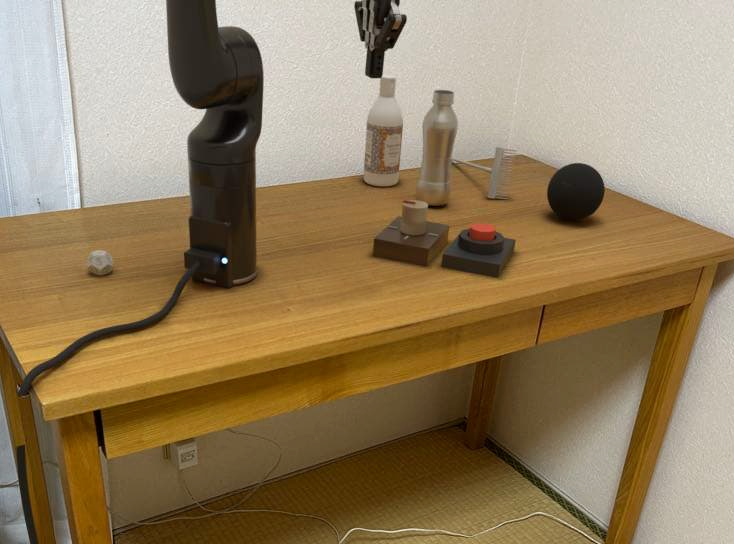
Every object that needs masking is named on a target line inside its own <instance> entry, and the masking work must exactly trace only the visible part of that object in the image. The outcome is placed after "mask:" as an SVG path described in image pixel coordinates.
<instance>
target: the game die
mask: <svg viewBox="0 0 734 544" xmlns="http://www.w3.org/2000/svg"><path fill="white" fill-rule="evenodd" d="M113 259H114V258H113V257H112V256H111V254H109V252H108V251H107V250H106V251H105V250H101V249H97V250H94V251H91V252H90V254H89V255H88V257H87V259H86V264H87V268H88V269H89V271H90V272H91V273H92V274H93V275H97V276H104V275H107V274H109V273H110V272H111V270H112V268H113V267H114V262H113Z"/></svg>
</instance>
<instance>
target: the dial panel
mask: <svg viewBox="0 0 734 544" xmlns="http://www.w3.org/2000/svg"><path fill="white" fill-rule="evenodd" d="M401 218H402V216H399V215H398V216H396V217H395V218H394V219H393V220H392V221H391V222H390V223H389V224H388V225H387V226H385V227H384V228H383V229H382V230H381V231H380V232H379V233H378V234H377V235H376V236H375V237H374V238H373V247H372V248H373V249H372V257H375V258H381V259H386V260H391V261H396V262H400V263H401V262H402V263H406V264H410V265H411V264H412V265H416V266H420V267H421V266H422V267H426V268H427V267H428V266H429V265H430V264H431V263H432V261H433V260H434V259H435V258H436V257H437V256H438V254H439V253H440V252H441V251H442V250H443V249H444V247H445V246H446V245H447V244H448V242H449V241H448V240H449V235H450V233H449V232H450V224H445V223H439V222H433V221H428V220H426V230H425V233H424V234H422V235H407V234H404V233H402V232H401V230H400V229H401Z"/></svg>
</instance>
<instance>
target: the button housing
mask: <svg viewBox="0 0 734 544" xmlns="http://www.w3.org/2000/svg"><path fill="white" fill-rule="evenodd" d="M469 232H470V227H469V228H465V229H462V230H461V231H460V232H459V234H458V235H457V236H456V237H455V238H454V240H453V241H452V242H451V243H450V245H449V246H448V247H447V248H446V249H445V251H444V252H443V253H442V257H441V268H445V269H450V270H455V271H456V270H457V271H460V272H464V273H465V272H466V273H471V274H476V275H481V276H487V277H492V278H496V279H498V278H499V277H500V275H501V274H502V272H503V271H504V269H505V267H507V266H506V265H507V264H508V262H509V261H510V259H511V258H512V256H513V254H514V253H515V247H516V241H517V239H514V238H509V237H505V236H504V235H503V234H502V232H499V231H496V232H495V238H494V240H491V241H480V240H475V239H472V238H470V237H469Z"/></svg>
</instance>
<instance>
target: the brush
mask: <svg viewBox="0 0 734 544" xmlns="http://www.w3.org/2000/svg"><path fill="white" fill-rule="evenodd" d="M515 152H518V150H515V149H508V148H504V147H500V146H495V152H494V157H493V163H492V167H486V166H482V165H479V164H475V163H473V162H470V161H466V160H463V159H459V158H456V157H453V156H452V158H451V161H453V162H456V163H459V164H462V165H466V166H469V167H472V168H475V169H478V170H481V171H483V172H484V171H485V173H489V174H490V180H489V185H488V190H487V196H486V198H488V199H500V200H508V199H509V198H507V197H509V195H508V194H510V193H509V191H510V190H509V189H510V186H511V184H510V183H511V181H512V177H513V176H512V175H513V172H514V170H513V167H514V166H515V165H514V164H515V163H516V162H515V161H516V155H517V153H515Z"/></svg>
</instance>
